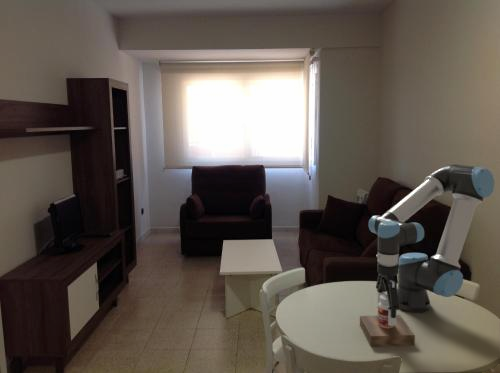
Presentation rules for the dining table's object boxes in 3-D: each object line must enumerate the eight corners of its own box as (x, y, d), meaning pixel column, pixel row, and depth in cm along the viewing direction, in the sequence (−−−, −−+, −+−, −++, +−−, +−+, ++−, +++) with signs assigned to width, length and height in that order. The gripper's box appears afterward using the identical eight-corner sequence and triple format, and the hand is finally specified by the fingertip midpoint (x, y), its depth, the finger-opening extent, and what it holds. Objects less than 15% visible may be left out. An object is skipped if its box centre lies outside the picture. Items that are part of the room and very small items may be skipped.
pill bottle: (374, 325, 168) (375, 297, 166) (381, 319, 172) (382, 292, 170) (390, 330, 164) (391, 302, 162) (397, 324, 168) (397, 296, 166)
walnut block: (399, 324, 176) (399, 314, 176) (414, 345, 161) (414, 335, 160) (359, 325, 176) (359, 316, 176) (370, 346, 161) (370, 336, 160)
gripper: (368, 252, 176) (367, 302, 180) (388, 275, 151) (386, 333, 155) (387, 252, 176) (386, 302, 180) (410, 275, 151) (407, 332, 155)
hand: (386, 316), depth 167 cm, fingers open, 13 cm apart
